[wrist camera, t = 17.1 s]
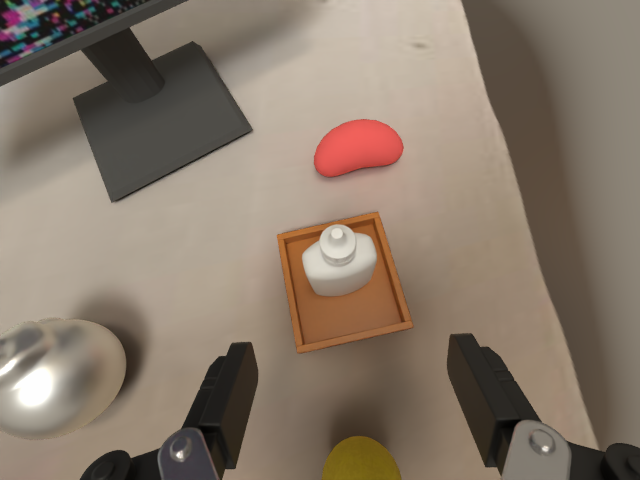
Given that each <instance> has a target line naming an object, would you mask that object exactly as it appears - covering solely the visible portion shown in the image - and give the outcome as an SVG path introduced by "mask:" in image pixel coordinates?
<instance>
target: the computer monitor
mask: <svg viewBox="0 0 640 480" xmlns="http://www.w3.org/2000/svg"><path fill="white" fill-rule="evenodd" d="M185 1H188V0H0V86H2V85H5V84H7V83H9V82H11V81H13V80H16V79H18V78H20V77H22V76H24V75H26V74H29V73H31V72H33V71H35V70H37V69H39V68H42V67H44V66H46V65H48V64H50V63H53V62H55V61H57V60H59V59H61V58H63V57H66V56H68V55H70V54H72V53H74V52H77V51H79V50H81V51H82V52H83V53H84V54H85V55H86V56H87V58H88V59H89V60H90V61H91V62H92V63H93V65H94V66H95V67H96V68H97V69H98V70H99V72H100V73H101V74H102V75H103V76H104V77H105V78H106V80H107V81H108V82H106V83H104V84H101V85H99V86H97V87H95V88H93V89H91V90H89V91H87V92H85V93H83V94H80V95H78V96H76V97H74V98H73V100H74V103H75V106H76V109H77V112H78V114H79V117H80V120H81V122H82V125H83V128H84V130H85V133H86V136H87V138H88V141H89V144H90V146H91V149H92V152H93V154H94V157H95V160H96V162H97V165H98V168H99V171H100V173H101V176H102V179H103V181H104V184H105V187H106V189H107V192H108V195H109V197H110V200H111V203H112V202H114V201H116V200H117V199H119V198H121V197H123V196H125V195H127V194H129V193H131V192H133V191H135V190H137V189H139V188H141V187H143V186H144V185H146V184H148V183H150V182H152V181H154V180H156V179H158V178H160V177H162V176H164V175H166V174H168V173H170V172H172V171H173V170H175V169H177V168H179V167H181V166H183V165H185V164H187V163H189V162H191V161H193V160H195V159H197V158H199V157H201V156H202V155H204V154H206V153H208V152H210V151H212V150H214V149H216V148H218V147H220V146H222V145H224V144H226V143H228V142H229V141H231V140H233V139H235V138H237V137H239V136H241V135H243V134H245V133H247V132H249V131H251V130H253V129H252V128H251V126H250V125H249V123H248V121H247V120H246V118H245V117H244V115H243V113H242V112H241V110H240V109H239V107H238V105H237V104H236V102H235V100H234V99H233V97H232V96H231V94H230V92H229V91H228V89H227V88H226V86H225V84H224V83H223V81H222V80H221V78H220V76H219V75H218V73H217V71H216V70H215V68H214V67H213V65H212V63H211V62H210V60H209V59H208V57H207V55H206V54H205V52H204V51H203V49H202V47H201V46H200V45H198V44H196V43H195V42H193V41H192V42H190V43H188V44H186V45H184V46H182V47H179V48H177V49H175V50H173V51H171V52H169V53H167V54H165V55H163V56H160V57H158V58H156V59H154V60H152V61H151V59H150V58H149V56H148V55H147V53H146V52H145V50H144V49H143V47H142V46H141V44H140V43H139V41H138V40H137V38H136V37H135V35H134V34H133V32H132V31H131V29H130V28H129V27H131V26H133V25H135V24H137V23H140V22H142V21H144V20H146V19H148V18H151V17H153V16H155V15H157V14H159V13H161V12H164V11H166V10H168V9H170V8H172V7H175V6H177V5H179V4H181V3H183V2H185Z"/></svg>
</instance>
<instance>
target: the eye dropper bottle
mask: <svg viewBox="0 0 640 480" xmlns="http://www.w3.org/2000/svg"><path fill="white" fill-rule="evenodd" d="M302 261H303V266H304V270H305V273H306V276H307V278H308V280H309V282H310V284H311V286H312V288H313V290H314V291H315V293H316V294H318V295H321V296H342V295H346V294H349V293H352V292H354V291H356V290H358V289H360V288H362V287H363V286H364V285H366V284H367V283H368V282H369V281H370V280H371V278H372V275H373V272H374V268H375V265H376V261H377V253H376V249H375V246H374V243H373V241H372V239H371V238H370V236H368V235H366V234H361V233H354V232H353V231H352V230H351V229H350V228H349V227H347V226H344V225H340V224H336V225H332V226H329V227H327V228H326V229H325V230H324V231H323V232H322V234H321V236H320V239H319V241H317V242H316V243H314V244H313V245H311V246H310V247H309V248H307V249H306V250H305V251H304V253H303V254H302Z"/></svg>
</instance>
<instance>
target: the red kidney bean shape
mask: <svg viewBox="0 0 640 480" xmlns="http://www.w3.org/2000/svg"><path fill="white" fill-rule="evenodd" d="M403 148H404V147H403V143H402V140H401V138H400V137H399V135H398V134H397V132H396V131H395V130H393V129H392V128H391V127H390V126H388V125H386V124H384V123H382V122H379V121H377V120H367V119H361V120H354V121H350V122H346V123H343V124H341V125H340V126H338V127H336V128H334V129H332V130H331V131H330V132H329V133H328V134H327V135H326V136H324V137H323V139H322V140H321V142H320V143H319V145H318V147H317V149H316V152H315V156H314V165H315V168H316V170H317V171H318V172H319V173H320V174H322V175H324V176H327V177H333V176H338V175H341V174H344V173H347V172H350V171H353V170H356V169H359V168H365V167H374V166H383V165H389V164H392V163H394V162H396V161H397V160H398V159H399V158H400V156H401V155H402V152H403Z"/></svg>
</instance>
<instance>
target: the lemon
mask: <svg viewBox="0 0 640 480" xmlns="http://www.w3.org/2000/svg"><path fill="white" fill-rule="evenodd" d="M322 480H402V479H401V475H400V471H399V469H398V467H397V464H396V462H395V460H394V458H393V457H392V456H391V454H390V453H389V452H388V450H387V449H386V448H385V447H384V446H382V445H381V444H380V443H379V442H377V441H375V440H373V439H371V438H369V437H364V436H354V437H349V438H347V439H345V440H342V441H341V442H340V443H339V444H337V445H336V446H335V447H334V448H333V450H332V451H331V453H330V454H329V455H328V457H327V460H326V462H325V465H324V468H323V474H322Z"/></svg>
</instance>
